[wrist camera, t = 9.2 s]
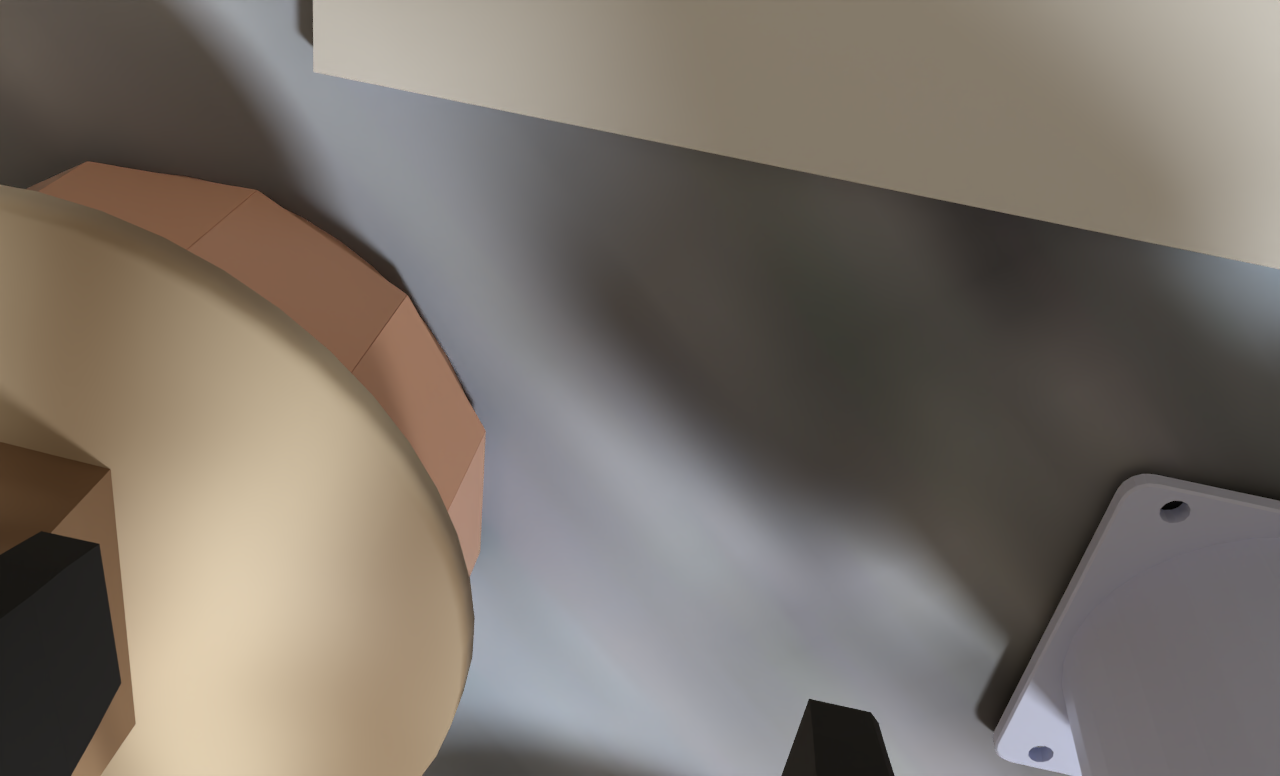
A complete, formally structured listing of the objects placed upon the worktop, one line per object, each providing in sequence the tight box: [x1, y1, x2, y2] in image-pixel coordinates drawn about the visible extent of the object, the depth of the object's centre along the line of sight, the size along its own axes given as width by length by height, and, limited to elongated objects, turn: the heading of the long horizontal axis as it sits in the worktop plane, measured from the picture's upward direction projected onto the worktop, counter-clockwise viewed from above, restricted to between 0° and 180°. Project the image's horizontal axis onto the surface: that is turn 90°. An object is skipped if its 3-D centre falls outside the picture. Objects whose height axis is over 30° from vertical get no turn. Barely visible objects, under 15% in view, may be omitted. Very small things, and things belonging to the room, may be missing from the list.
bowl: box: [26, 161, 486, 577], centre depth 21 cm, size 12×12×5 cm
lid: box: [0, 185, 474, 776], centre depth 17 cm, size 14×14×4 cm
